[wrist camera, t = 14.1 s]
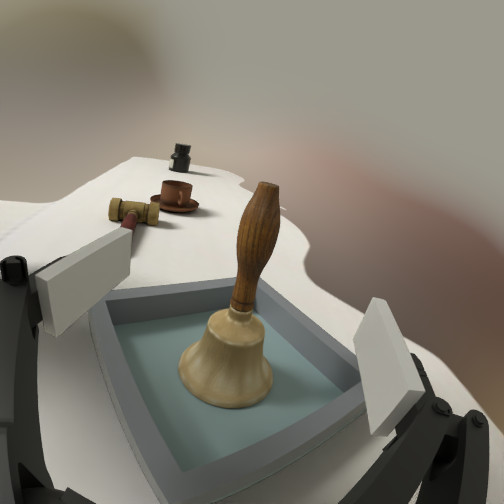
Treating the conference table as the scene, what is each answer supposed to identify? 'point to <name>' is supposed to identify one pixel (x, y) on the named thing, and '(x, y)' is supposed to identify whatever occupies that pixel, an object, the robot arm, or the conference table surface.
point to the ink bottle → (180, 158)
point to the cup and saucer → (175, 197)
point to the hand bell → (238, 319)
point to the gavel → (133, 212)
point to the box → (209, 416)
